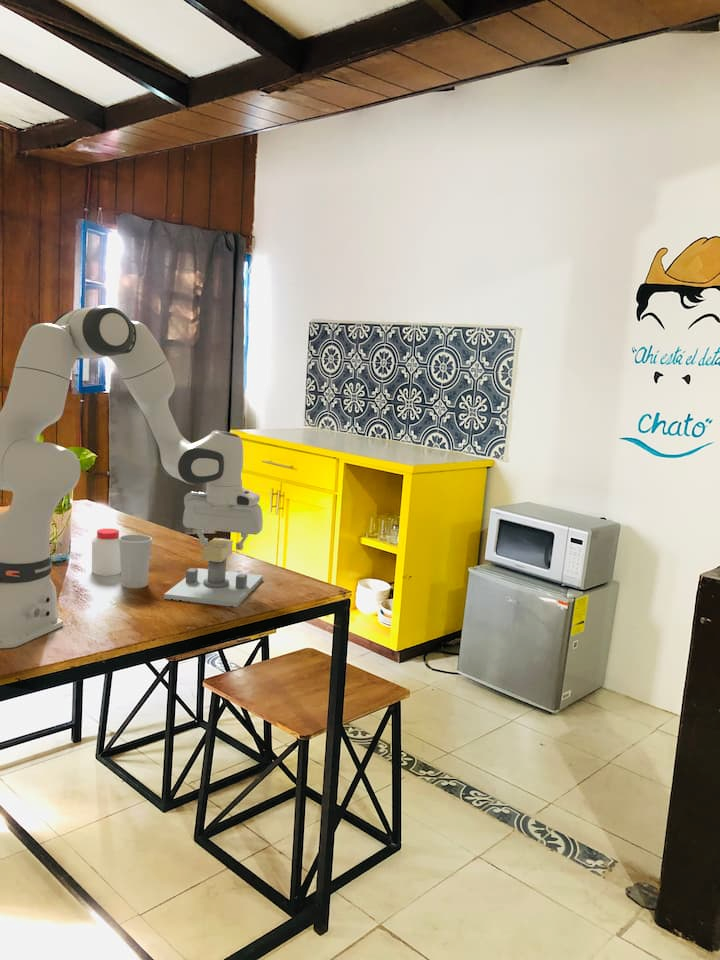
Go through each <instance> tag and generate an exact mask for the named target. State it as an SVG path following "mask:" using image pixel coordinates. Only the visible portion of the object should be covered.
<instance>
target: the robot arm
mask: <svg viewBox="0 0 720 960" xmlns="http://www.w3.org/2000/svg"><path fill="white" fill-rule="evenodd" d="M106 357H108V358H109V359H110V360H111V361H112V362H113V363H114V364H115V366H116V367H117V371H118V373H119V374H120V376H121V379H122V381H123V382H124V384H125V386H126V388H127V390H128V392H129V393H130V395H131V396H132V398H133V400H134V401H135V402H136V404H137V405H138V408H140V410H141V412H142V415H143V417H144V419H145V421H146V423H147V425H148V428H149V430H150V432H151V435H152V437H153V439H154V442H155V444H156V450H157V451H156V452H157V453H156V454H157V461H158V466H159V468H160V469H161V471H162V472H163V473H164V474H165V475H166V476H168V477H170V478H173V479H178V480H180V481H182V482H184V483H186V484H189V485H201V484H206V492H201V491H199V492H197V491H190V492H188V493H186V494H185V495H184V497H183V505H184V510H183V516H182V525H183V526H184V527H185V528H187V529H189V528H190V529H195V533H196V535H197V537H198V539H199V541H200V543H199V546H200V547H203V546H204V545H205V544H207V543H208V542H209V538H207V537H205V535H204V532H205V530H209V531H215V532H217V531H218V532H225V533H226V532H227V533H237V534H240V538H241V540H240V541H237V542H236V543H235V550H237V551H238V550H239V551H242V550H243V549H244V543H245V541H246V540H247V538H248V537H249V535H256V536H257V535H259V534H260V532H262V530H263V524H264V522H263V521H264V520H263V519H264V518H263V510H262V507H261V505H260V504H258V503H259V502H260V499H261V497H260V496H261V495H260V494H258V493H256V492H254V491H251V490H248V489H247V488H245V487H243V480H242V472H243V468H244V446H243V441H242V438H241V437H240V436H239V435H238V434H235V433H233V432H229V431H226V430H225V431H224V430H218V429H215V430H212V431H211V433H209V434H207V435H206V436H205V437H203V438H201V439H199V440H197V441H195V442H190V441H189V440H188V439H186V438H185V437H184V436H183V435H182V434H181V432H180V430H179V428H178V425H177V424H176V421H175V419H174V416H173V414H172V412H171V410H170V406H169V399H170V397H171V396H172V395H173V393H174V391H175V388H176V380H175V378H174V377H175V376H174V373H173V370H172V368H171V365H170V363H169V361H168V359H167V357H166V355H165V353H164V352H163V349H162V348H161V345H160V344H159V342H158V341H157V339H156V338H155V337H154V335H153V333H152V332H151V331H150V330H149V328H148V327H147V325H146V324H144V323H142V322H140V321H137V320H130V319H129V317H128V316H127V315H126V314H125V313H124V312H123V311H121V310H120V309H118V308H116V307H114V306H110V305H97V306H91V307H90V306H89V307H88V306H85V307H80V308H77V309H74V310H71V311H66V312H63V314H60V315H59V316H58V317H57V318H56V319H55V320H54V321H53V322H52V323H47V322H43V323H41V322H40V323H37V324H34V325H32V326H31V327H30V328H29V329H28V330H27V332H26V335H25V336H24V338H23V341H22V343H21V346H20V348H19V352H18V354H17V356H16V360H15V363H14V368H13V372H12V377H11V379H10V384H9V388H8V392H7V395H6V399H5V401H4V404H3V405H2V408H1V410H0V491H7V492H11V493H12V499H11V504H10V506H9V507H8V509H7V510H5V511H3V512H1V513H0V649H12V648H16V647H18V646H22V645H23V644H27V643H29V642H31V641H32V640H34V639H37V638H39V637H42V636H43V635H46V634H48V633H51V632H52V631H54V630H57V629H60V628H62V627H63V626H64V621H63V619H61V618H60V617H59V612H58V611H59V610H58V597H57V596H58V595H57V588H56V587H57V586H55V584H54V583H53V581H52V580H53V579H52V578H51V574H52V566H53V562H52V556H51V555H50V540H51V526H52V525H51V524H52V519H53V516H54V514H55V510H56V509H57V507H58V505H59V503H60V502H61V501H62V499H63V498H64V497H65V496H67V495H68V494H70V493H71V492H72V491H73V490H75V488H76V486H77V485H78V483H79V480H80V477H81V472H82V471H81V463H80V460H79V458H78V455H77V454H76V453H75V452H74V451H73V450H70V449H68V448H66V447H63V446H61V445H58V444H56V443H55V444H54V443H53V442H52V443H51V442H44V441H38V440H37V439H38V438H39V436H40V435H41V433H42V432H43V431H44V430H45V429H46V428H47V427H49V426H50V425H52V424H55V423H56V422H58V421H59V420H60V419H61V417H62V416H63V414H64V408H65V406H66V405H65V404H66V401H67V397H68V391H69V387H70V386H69V385H70V381H71V378H72V372H73V368H74V365H75V364H76V361H77V360H83V359H87V360H88V359H90V360H97V359H101V358H106Z"/></svg>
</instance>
